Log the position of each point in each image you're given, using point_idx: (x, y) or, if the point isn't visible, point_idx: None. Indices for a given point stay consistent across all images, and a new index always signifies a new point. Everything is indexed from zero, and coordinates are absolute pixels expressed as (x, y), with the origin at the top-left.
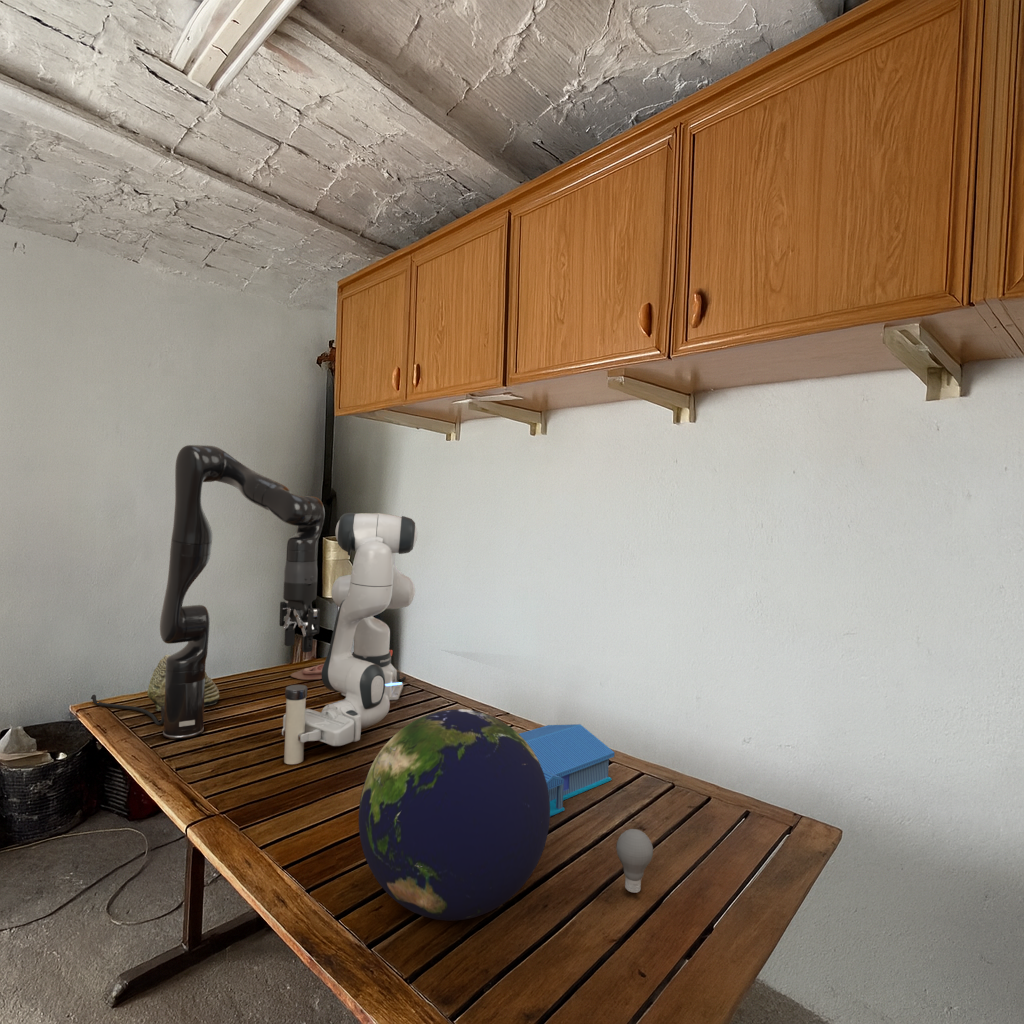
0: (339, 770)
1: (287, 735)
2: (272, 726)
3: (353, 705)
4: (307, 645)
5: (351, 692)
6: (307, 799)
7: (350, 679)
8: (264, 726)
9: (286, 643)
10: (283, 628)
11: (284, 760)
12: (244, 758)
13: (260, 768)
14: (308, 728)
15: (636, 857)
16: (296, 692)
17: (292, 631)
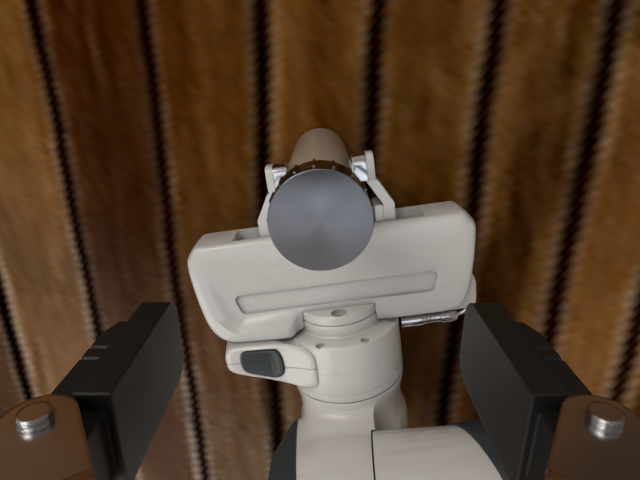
0: (180, 211)
1: (313, 140)
2: (594, 242)
3: (315, 400)
4: (87, 353)
5: (343, 435)
6: (63, 48)
7: (346, 473)
8: (614, 225)
9: (475, 314)
10: (619, 407)
11: (325, 129)
12: (439, 53)
13: (337, 53)
14: None
15: None
16: (274, 193)
17: (514, 454)
